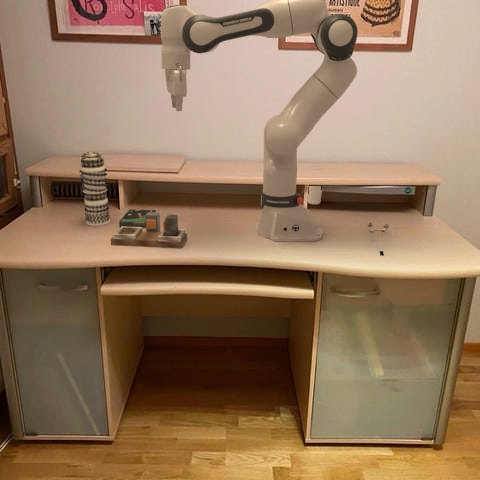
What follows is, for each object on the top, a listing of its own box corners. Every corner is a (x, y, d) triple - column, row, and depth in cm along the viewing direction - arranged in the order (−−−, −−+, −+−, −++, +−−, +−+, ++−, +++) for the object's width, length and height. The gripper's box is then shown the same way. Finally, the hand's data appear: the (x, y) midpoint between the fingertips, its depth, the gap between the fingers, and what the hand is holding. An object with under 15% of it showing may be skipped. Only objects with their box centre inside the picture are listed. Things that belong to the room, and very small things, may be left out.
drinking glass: (305, 200, 203) (308, 165, 197) (321, 201, 202) (324, 166, 197) (305, 205, 196) (308, 169, 191) (322, 205, 196) (325, 169, 190)
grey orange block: (149, 231, 164) (147, 212, 162) (160, 232, 164) (159, 212, 161) (145, 235, 161) (144, 215, 158) (157, 236, 160) (156, 216, 158)
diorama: (389, 229, 171) (390, 220, 169) (397, 258, 146) (399, 247, 145) (363, 227, 172) (364, 218, 171) (366, 255, 148) (368, 244, 147)
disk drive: (129, 216, 182) (119, 228, 168) (128, 209, 181) (118, 221, 167) (156, 216, 182) (148, 229, 168) (155, 209, 181) (148, 221, 167)
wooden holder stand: (187, 239, 158) (186, 213, 154) (181, 248, 150) (181, 221, 147) (119, 235, 160) (117, 210, 157) (111, 244, 152) (108, 217, 149)
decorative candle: (111, 225, 170) (105, 155, 161) (84, 226, 168) (76, 156, 159) (111, 217, 178) (105, 150, 169) (85, 218, 176) (78, 151, 167)
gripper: (191, 64, 139) (191, 113, 144) (181, 63, 157) (182, 106, 162) (169, 63, 137) (170, 113, 142) (162, 62, 156) (163, 106, 161)
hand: (176, 109), depth 152 cm, fingers open, 8 cm apart
